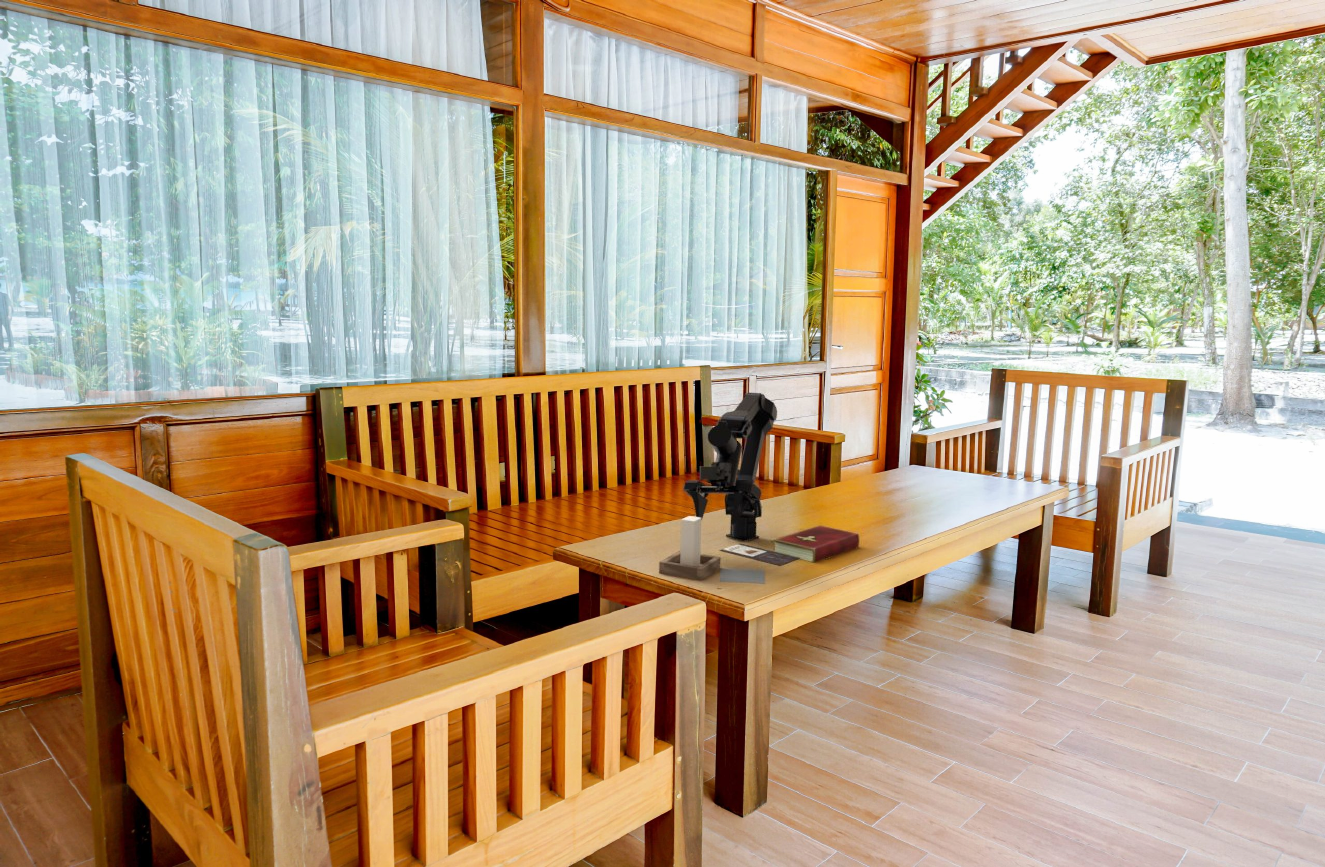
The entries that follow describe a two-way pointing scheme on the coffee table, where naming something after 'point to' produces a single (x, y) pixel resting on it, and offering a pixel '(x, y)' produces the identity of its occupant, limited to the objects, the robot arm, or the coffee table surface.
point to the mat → (742, 575)
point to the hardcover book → (817, 543)
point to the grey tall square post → (690, 541)
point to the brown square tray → (689, 566)
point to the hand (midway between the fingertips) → (715, 523)
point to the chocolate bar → (760, 554)
